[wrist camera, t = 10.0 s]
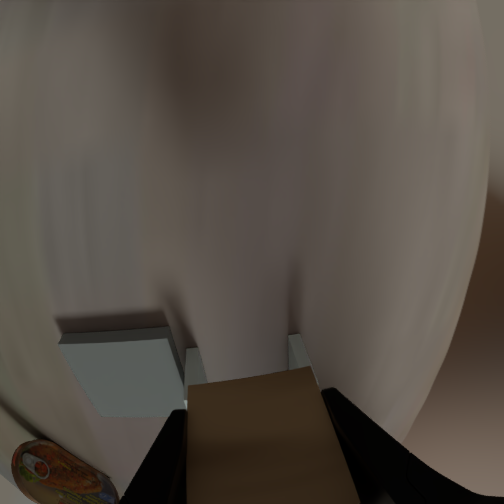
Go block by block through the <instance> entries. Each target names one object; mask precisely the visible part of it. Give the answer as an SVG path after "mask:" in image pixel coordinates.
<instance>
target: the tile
mask: <svg viewBox="0 0 504 504" xmlns="http://www.w3.org/2000/svg"><path fill="white" fill-rule="evenodd" d="M58 346H59V348H60V350H61V351H62V353H63V355H64V357H65V359H66V361H67V362H68V364H69V366H70V368H71V370H72V371H73V373H74V375H75V377H76V378H77V380H78V382H79V383H80V385H81V387H82V388H83V390H84V391H85V393H86V395H87V396H88V398H89V399H90V401H91V403H92V404H93V406H94V407H95V409H96V410H97V412H98V413H99V415H100V416H101V417H169V415H170V413H171V412H172V411H173V410H174V409H186V410H187V408H186V405H185V403H184V380H185V375H184V372H183V369H182V366H181V363H180V360H179V357H178V354H177V350H176V347H175V344H174V341H173V337H172V334H171V331H170V327H169V326H167V327H157V328H145V329H133V330H119V331H104V332H86V333H63V335H62V337H61V339H60V341H59V343H58Z"/></svg>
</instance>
